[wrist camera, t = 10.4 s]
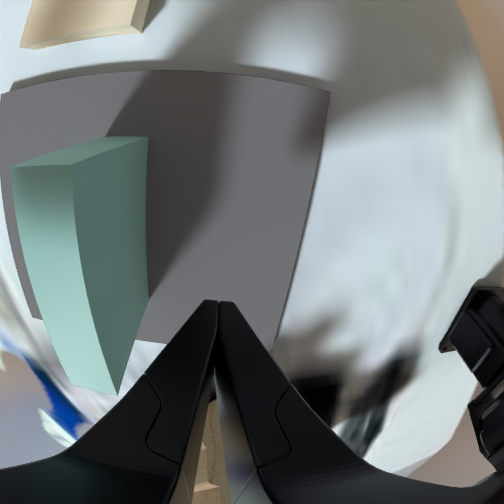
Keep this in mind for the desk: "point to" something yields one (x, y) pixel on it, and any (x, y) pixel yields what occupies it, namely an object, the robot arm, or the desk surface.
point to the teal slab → (87, 252)
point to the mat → (189, 180)
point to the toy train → (211, 464)
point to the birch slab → (81, 20)
